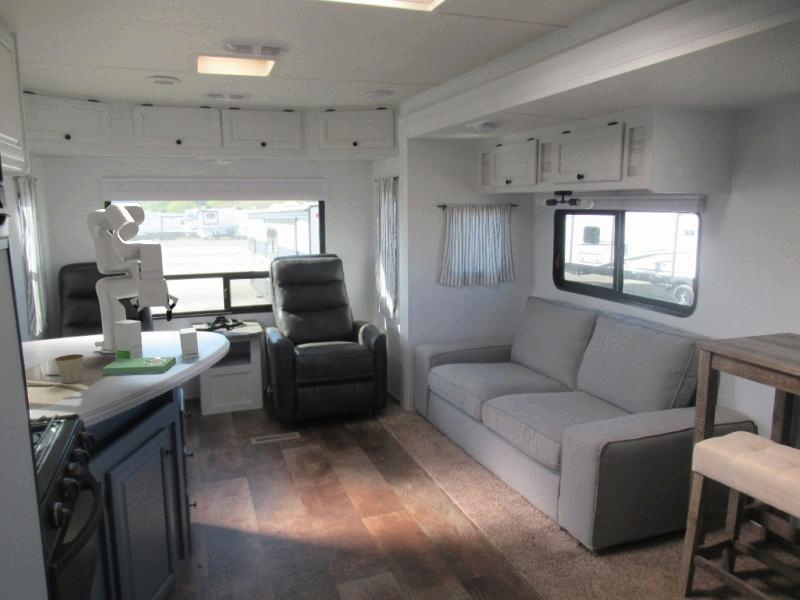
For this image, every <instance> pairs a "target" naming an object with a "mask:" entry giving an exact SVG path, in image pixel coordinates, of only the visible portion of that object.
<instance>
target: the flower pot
mask: <svg viewBox="0 0 800 600" xmlns="http://www.w3.org/2000/svg"><path fill="white" fill-rule="evenodd" d="M84 358H85V355H84V354H81V353H79V354H78V353H74V354H66V355H61V356H58V357H55V358H53V362H55V364H56V366H57V370H58V372H59V376H60V379H61V382H62V384H66V383H67V384H74V383H77V382H79V381H82V377H83V361H84Z"/></svg>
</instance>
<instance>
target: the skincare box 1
mask: <svg viewBox="0 0 800 600" xmlns="http://www.w3.org/2000/svg"><path fill="white" fill-rule="evenodd" d="M114 334H115V349H116V353H115V361H116V360H117V359H129V358H144V357H143V356H144V354H143V343H142V342H143V341H142V322H141V320H134V319H126V320H121V321H117V322H114Z"/></svg>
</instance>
